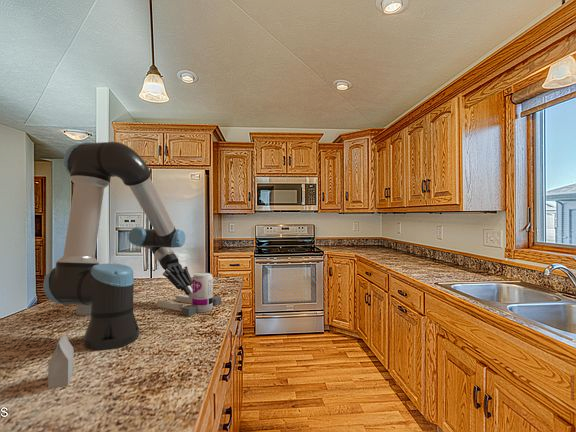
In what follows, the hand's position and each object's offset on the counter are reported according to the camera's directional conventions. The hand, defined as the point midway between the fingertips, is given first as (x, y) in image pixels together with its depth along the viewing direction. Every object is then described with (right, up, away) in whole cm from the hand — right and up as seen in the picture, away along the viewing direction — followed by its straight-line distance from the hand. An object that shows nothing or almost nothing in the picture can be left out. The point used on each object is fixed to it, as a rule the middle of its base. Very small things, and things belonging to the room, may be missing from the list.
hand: (195, 299), depth 132 cm
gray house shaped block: (-14, -3, -59) cm, 61 cm away
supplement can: (+4, -4, -3) cm, 7 cm away
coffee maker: (-40, -3, -7) cm, 41 cm away
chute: (-4, -4, +2) cm, 6 cm away
